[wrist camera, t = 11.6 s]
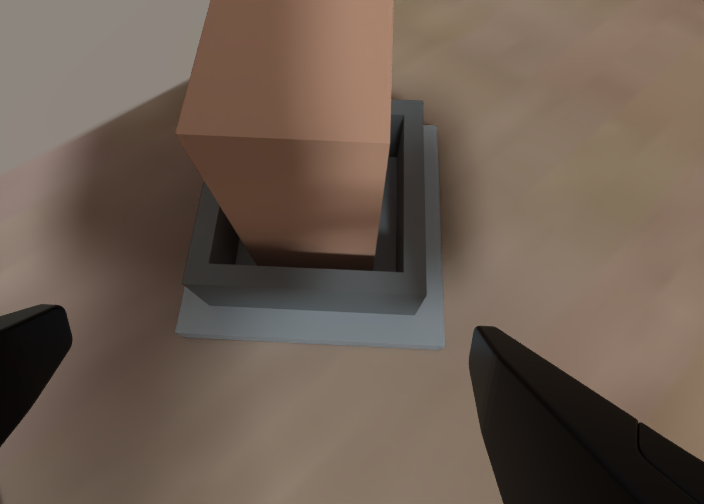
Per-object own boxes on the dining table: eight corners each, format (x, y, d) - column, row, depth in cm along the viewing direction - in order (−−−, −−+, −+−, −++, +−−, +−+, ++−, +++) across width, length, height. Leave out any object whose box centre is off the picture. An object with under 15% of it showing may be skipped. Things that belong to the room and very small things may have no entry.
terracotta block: (372, 272, 18) (389, 143, 9) (257, 266, 18) (175, 134, 10) (376, 173, 20) (393, -7, 11) (272, 169, 20) (214, -13, 11)
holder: (440, 350, 18) (463, 331, 14) (184, 337, 18) (140, 315, 14) (433, 138, 22) (450, 79, 18) (226, 129, 22) (200, 71, 18)
